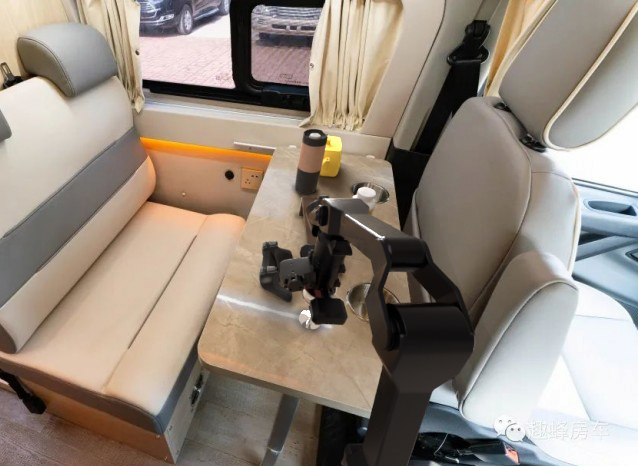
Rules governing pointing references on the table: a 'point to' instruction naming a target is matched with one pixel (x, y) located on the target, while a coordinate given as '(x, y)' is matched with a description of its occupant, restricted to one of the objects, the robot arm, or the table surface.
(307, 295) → the wineglass
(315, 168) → the travel mug
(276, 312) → the table surface
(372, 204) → the supplement bottle
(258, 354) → the table surface
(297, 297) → the table surface
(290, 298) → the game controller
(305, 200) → the chute
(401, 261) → the robot arm
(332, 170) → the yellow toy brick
